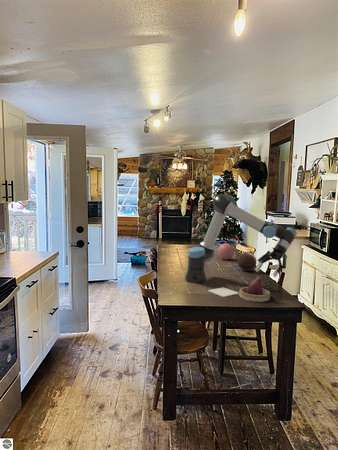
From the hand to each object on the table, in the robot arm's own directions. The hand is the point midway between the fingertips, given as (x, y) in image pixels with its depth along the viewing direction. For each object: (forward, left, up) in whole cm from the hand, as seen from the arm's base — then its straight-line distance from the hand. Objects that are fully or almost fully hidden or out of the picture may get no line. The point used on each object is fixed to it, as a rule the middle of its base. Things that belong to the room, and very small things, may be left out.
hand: (265, 273), depth 212 cm
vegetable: (-1, -8, -14) cm, 16 cm away
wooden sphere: (-50, +41, -14) cm, 66 cm away
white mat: (-17, -19, -14) cm, 29 cm away
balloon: (-89, +59, -14) cm, 108 cm away
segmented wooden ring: (-1, -8, -14) cm, 16 cm away
